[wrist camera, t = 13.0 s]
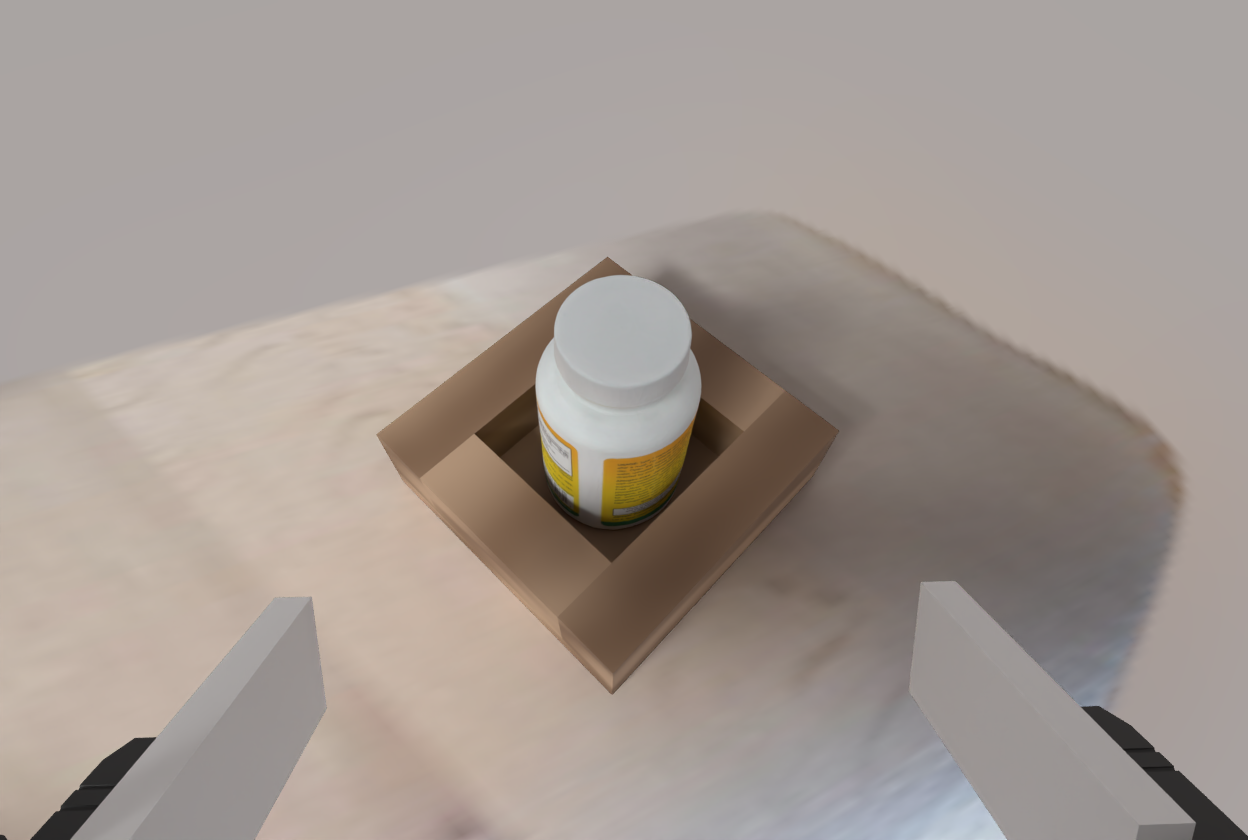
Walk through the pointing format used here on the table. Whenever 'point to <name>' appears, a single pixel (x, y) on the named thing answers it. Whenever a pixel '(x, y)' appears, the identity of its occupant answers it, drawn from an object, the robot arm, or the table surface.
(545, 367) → the supplement bottle
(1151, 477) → the table surface
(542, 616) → the socket block
